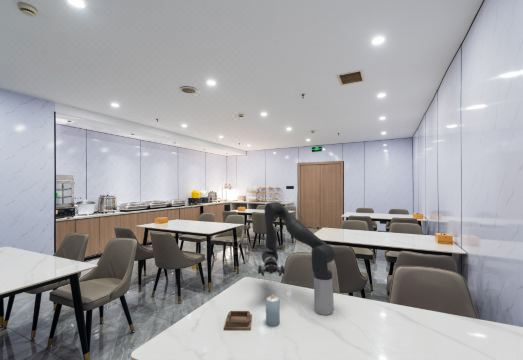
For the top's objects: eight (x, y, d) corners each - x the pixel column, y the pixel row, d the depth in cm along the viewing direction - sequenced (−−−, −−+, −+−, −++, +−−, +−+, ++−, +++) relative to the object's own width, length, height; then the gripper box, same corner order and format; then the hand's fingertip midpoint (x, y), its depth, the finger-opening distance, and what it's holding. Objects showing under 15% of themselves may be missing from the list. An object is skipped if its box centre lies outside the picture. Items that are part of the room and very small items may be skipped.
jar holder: (227, 316, 121) (227, 310, 121) (252, 316, 121) (252, 310, 121) (223, 330, 109) (223, 323, 109) (250, 330, 109) (250, 323, 109)
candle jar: (273, 317, 119) (273, 291, 120) (282, 323, 114) (282, 295, 115) (263, 322, 115) (263, 294, 115) (272, 328, 110) (272, 299, 111)
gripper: (258, 258, 143) (257, 266, 127) (282, 258, 143) (285, 267, 127) (258, 271, 143) (257, 281, 126) (282, 271, 142) (285, 281, 126)
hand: (271, 274), depth 126 cm, fingers open, 8 cm apart
